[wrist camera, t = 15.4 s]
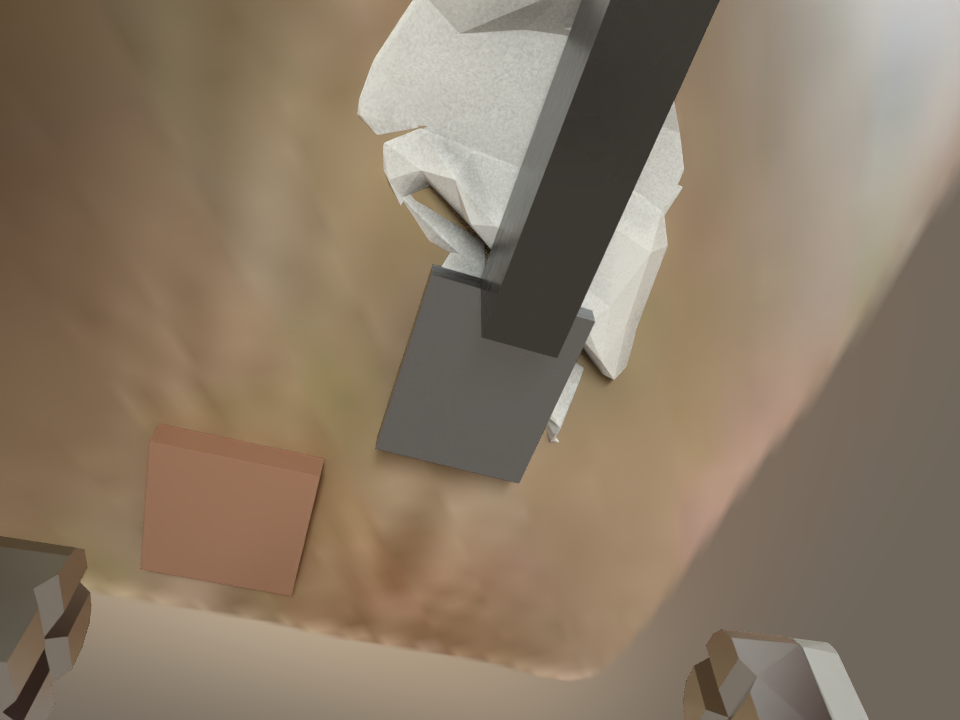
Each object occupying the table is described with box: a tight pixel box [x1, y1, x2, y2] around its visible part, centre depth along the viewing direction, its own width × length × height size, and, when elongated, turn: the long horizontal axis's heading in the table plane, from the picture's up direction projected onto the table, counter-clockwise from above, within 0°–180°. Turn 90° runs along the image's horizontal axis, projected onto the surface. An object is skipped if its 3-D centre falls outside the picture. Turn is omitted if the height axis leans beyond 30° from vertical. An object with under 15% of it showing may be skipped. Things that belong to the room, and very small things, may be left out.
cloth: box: [357, 0, 684, 442], centre depth 25 cm, size 26×14×2 cm, turn 166°
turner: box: [375, 0, 720, 483], centre depth 24 cm, size 20×6×4 cm, turn 162°
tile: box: [140, 424, 324, 596], centre depth 34 cm, size 2×7×8 cm
